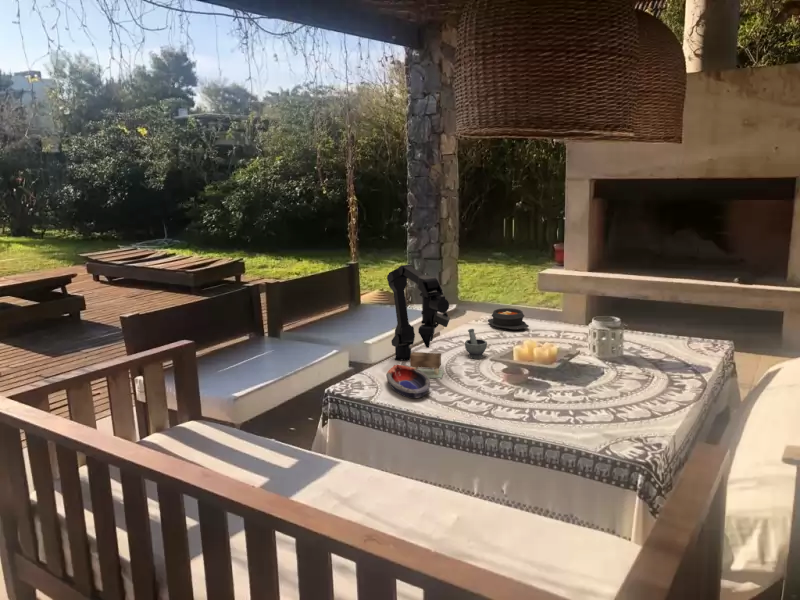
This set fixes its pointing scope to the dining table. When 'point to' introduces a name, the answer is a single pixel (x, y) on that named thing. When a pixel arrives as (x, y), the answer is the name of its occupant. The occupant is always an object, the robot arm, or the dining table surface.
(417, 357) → the brown rectangular block
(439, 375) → the strip
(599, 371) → the dining table surface
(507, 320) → the casserole
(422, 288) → the robot arm
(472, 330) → the mortar and pestle
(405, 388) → the dish
